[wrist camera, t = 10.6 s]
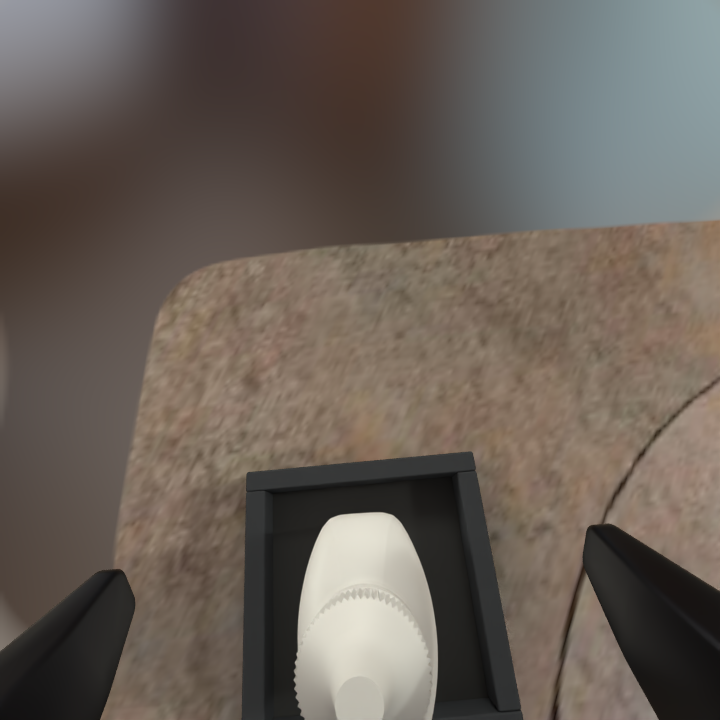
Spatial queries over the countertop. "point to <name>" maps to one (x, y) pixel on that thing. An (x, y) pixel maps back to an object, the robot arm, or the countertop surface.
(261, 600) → the dock pad
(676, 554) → the countertop surface
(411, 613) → the eye dropper bottle
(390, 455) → the countertop surface
